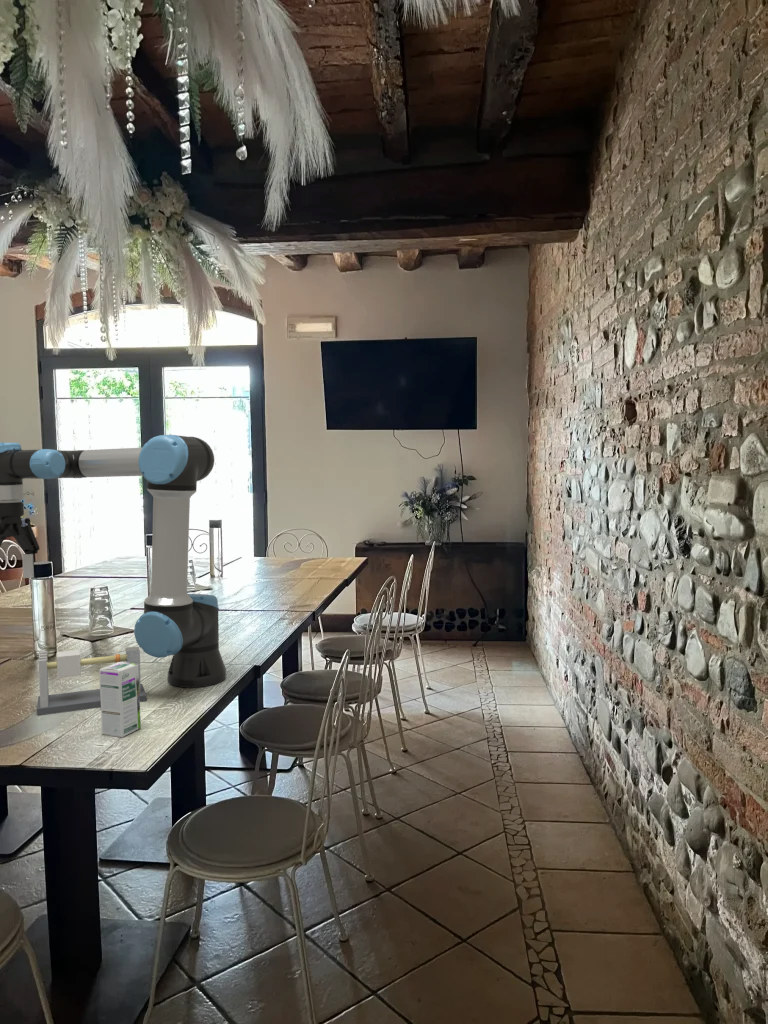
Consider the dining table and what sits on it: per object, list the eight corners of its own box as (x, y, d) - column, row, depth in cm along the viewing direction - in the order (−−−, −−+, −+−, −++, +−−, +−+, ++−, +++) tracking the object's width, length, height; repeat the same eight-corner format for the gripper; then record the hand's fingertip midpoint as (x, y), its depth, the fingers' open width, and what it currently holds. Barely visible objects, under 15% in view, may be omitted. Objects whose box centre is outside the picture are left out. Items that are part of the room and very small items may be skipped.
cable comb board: (142, 689, 182) (141, 641, 181) (146, 701, 173) (145, 650, 172) (38, 702, 172) (36, 651, 171) (37, 715, 163) (35, 661, 162)
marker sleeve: (80, 669, 173) (79, 649, 173) (80, 675, 169) (80, 654, 168) (57, 672, 171) (57, 652, 171) (57, 678, 167) (56, 657, 166)
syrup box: (122, 738, 149) (120, 670, 148) (100, 734, 151) (98, 667, 150) (141, 728, 154) (139, 663, 154) (119, 725, 157) (118, 660, 156)
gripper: (27, 499, 199) (30, 574, 200) (-43, 503, 175) (-39, 589, 176) (51, 499, 198) (54, 575, 199) (-17, 503, 173) (-13, 590, 174)
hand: (10, 581), depth 187 cm, fingers open, 13 cm apart
